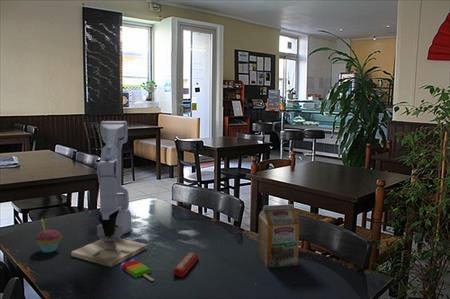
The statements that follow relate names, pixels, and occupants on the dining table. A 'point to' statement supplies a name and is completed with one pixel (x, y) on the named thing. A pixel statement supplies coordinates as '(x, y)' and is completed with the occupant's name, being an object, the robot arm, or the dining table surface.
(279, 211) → the milk carton
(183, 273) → the candy bar
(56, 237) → the cupcake
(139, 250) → the post base
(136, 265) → the popsicle
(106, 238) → the grey block
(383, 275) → the dining table surface
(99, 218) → the robot arm
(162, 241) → the dining table surface
